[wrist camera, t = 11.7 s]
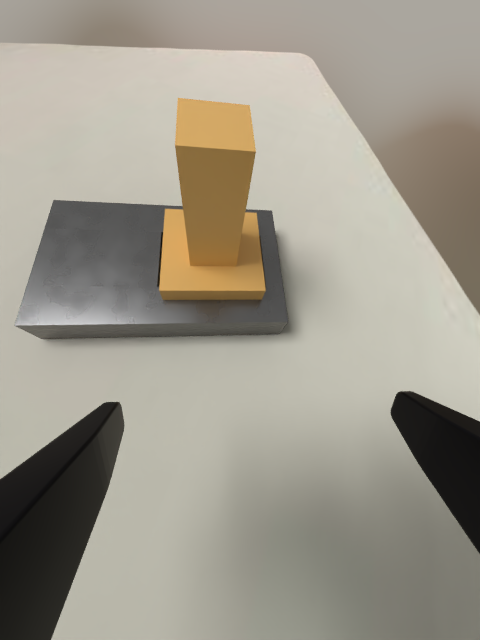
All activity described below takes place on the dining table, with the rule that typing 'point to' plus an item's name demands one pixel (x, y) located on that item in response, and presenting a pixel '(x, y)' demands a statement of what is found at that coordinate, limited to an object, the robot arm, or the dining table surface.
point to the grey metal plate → (131, 279)
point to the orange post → (212, 208)
